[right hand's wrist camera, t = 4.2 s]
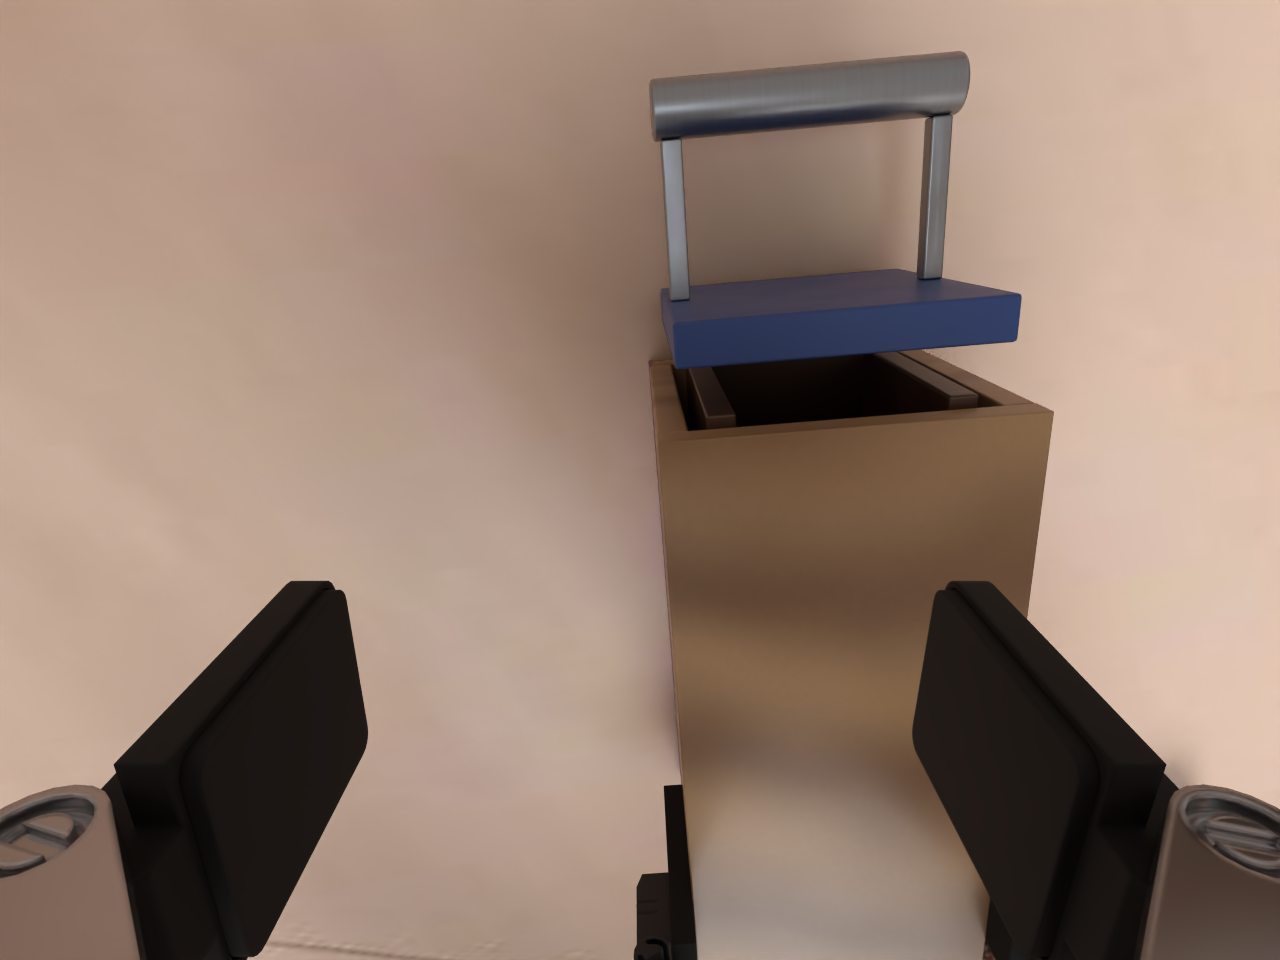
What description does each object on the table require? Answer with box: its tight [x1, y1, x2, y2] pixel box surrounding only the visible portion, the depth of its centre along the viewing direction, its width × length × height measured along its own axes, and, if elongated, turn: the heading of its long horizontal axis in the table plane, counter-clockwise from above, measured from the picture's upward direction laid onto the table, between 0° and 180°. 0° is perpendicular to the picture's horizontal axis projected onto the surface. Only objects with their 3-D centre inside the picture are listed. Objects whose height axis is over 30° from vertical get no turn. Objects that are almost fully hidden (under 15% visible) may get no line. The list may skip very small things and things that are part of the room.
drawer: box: [649, 51, 1022, 431], centre depth 24 cm, size 26×9×9 cm, turn 5°
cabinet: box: [649, 350, 1054, 960], centre depth 26 cm, size 21×10×11 cm, turn 5°
